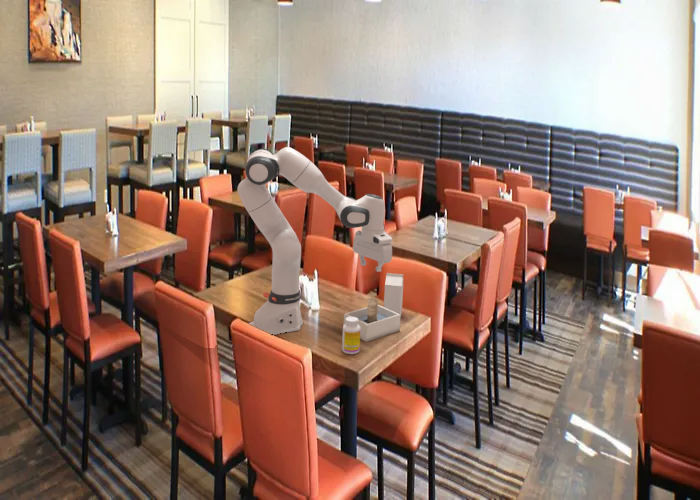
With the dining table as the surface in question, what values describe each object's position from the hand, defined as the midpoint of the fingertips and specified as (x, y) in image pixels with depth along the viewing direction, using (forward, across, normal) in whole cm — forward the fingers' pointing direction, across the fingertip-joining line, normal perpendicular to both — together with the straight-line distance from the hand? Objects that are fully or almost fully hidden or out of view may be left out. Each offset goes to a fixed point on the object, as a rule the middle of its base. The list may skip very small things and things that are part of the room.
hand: (370, 268), depth 236 cm
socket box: (+24, +6, -3) cm, 25 cm away
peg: (+23, +6, -3) cm, 24 cm away
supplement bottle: (+25, +16, -22) cm, 36 cm away
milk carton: (+24, -1, +15) cm, 29 cm away
